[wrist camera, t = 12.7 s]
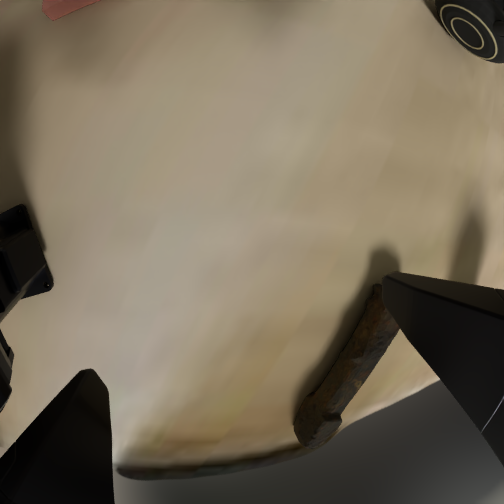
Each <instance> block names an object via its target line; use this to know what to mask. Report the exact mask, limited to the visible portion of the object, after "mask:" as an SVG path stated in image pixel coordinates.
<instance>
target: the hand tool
mask: <svg viewBox="0 0 504 504" xmlns="http://www.w3.org/2000/svg"><path fill="white" fill-rule="evenodd" d="M373 289H374V295H373V296H372V297H371V298H369V299H368V300H366V305H367V309H366V311H365V313H364V315H363V317H362V319H361V320H360V322H359V324H358V326H357V328H356V330H355V332H354V333H353V335H352V337H351V339H350V340H349V342H348V343H347V345H346V347H345V348H344V349H343V351H342V352H340V355H339V358H338V360H337V361H336V363H335V364H334V365H333V367H332V369H331V371H330V372H329V374H328V375H327V377H326V378H325V380H324V381H323V383H322V384H321V386H320V387H319V389H318V390H317V391H316V393H311V394H309V395H308V396H307V397H306V398H305V400H304V402H303V404H302V405H301V407H300V410H299V412H298V415H297V418H296V421H295V424H294V432H295V434H296V436H297V438H298V440H299V442H300V443H301V444H302V445H303V446H304V447H305V448H311V449H313V448H315V447H318V446H319V445H321V444H322V443H324V442H325V441H326V439H327V438H328V437H329V436H331V434H332V433H334V432H335V431H336V430H337V429H338V428H339V426H340V425H341V423H342V419H341V416H340V415H341V413H342V412H343V411H344V409H345V407H346V406H347V405H348V403H349V402H350V401H351V399H352V398H353V397H354V395H355V394H356V393H357V391H358V390H359V389H360V388H361V386H362V385H363V383H364V382H365V381H366V379H367V378H368V376H369V375H370V373H371V372H372V371H373V369H374V368H375V366H376V364H377V363H378V362H379V360H380V359H381V357H382V356H383V355H384V353H385V352H386V350H387V348H388V346H389V345H390V344H391V342H392V340H393V339H394V337H395V336H396V335H397V333H398V331H399V329H400V327H399V326H398V324H397V323H396V322H395V320H394V319H393V317H392V316H391V314H390V313H389V311H388V310H387V309H386V307H385V305H384V303H383V299H382V284H375V285H373Z"/></svg>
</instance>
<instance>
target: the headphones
mask: <svg viewBox="0 0 504 504" xmlns="http://www.w3.org/2000/svg"><path fill="white" fill-rule="evenodd" d="M435 4H436V8H437V11H438V14H439V16H440V19H441V21H442V23H443V25H444V26H445V28H446V30H447V31H448V32H449V34H450V35H451V36H452V37H453V38H454V39H455V41H456V42H457V43H459V44H460V45H461V46H462V47H463V48H464V49H466V50H467V51H468V52H470V53H471V54H473V55H475V56H477V57H479V58H481V59H484V60H486V61H490V62H494V63H504V0H435Z"/></svg>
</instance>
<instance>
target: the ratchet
mask: <svg viewBox="0 0 504 504" xmlns="http://www.w3.org/2000/svg"><path fill="white" fill-rule="evenodd" d="M98 1H100V0H43V5H42V12H43V13H45V14H46V15H47V16H48V17H49V18H50V19H51V20H53V21H54V20H56V19H58V18H60V17H62V16H64V15H66V14H69V13H71V12H73V11H75V10H78V9H80V8H82V7H85V6H87V5H90V4H92V3H95V2H98Z"/></svg>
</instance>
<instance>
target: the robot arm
mask: <svg viewBox="0 0 504 504" xmlns="http://www.w3.org/2000/svg"><path fill="white" fill-rule="evenodd" d="M19 209H21V211H22V214H20V213H19ZM45 282H47V283H48V284H49V286H48V285H46V283H45ZM53 286H54V283H53V280H52V278H51V275H50V273H49V271H48V268H47V266H46V261H45V259H44V256H43V254H42V251H41V248H40V245H39V243H38V240H37V237H36V234H35V231H34V230H33V228H32V224H31V221H30V218H29V215H28V212H27V208H26V206H25V205H23V204H19V205H17V206H15V207H13V208H11V209H9V210H7V211H5V212H3V213H1V214H0V323H1V322H2V320H3V319H4V318H5V317H6V315H7V314H8V313H9V312H10V311H11V309H12V308H13V307H14V306H15V305H16V304H17V302H18V301H19V300H20V299H24V298H27V297H30V296H34V295H37V294H41V293H44V292H48V291H50V290H51V289H52V288H53ZM382 299H383V303H384V305H385V307H386V309H387V310H388V311H389V313H390V314H391V316H392V317H393V319H394V320H395V322H396V323H397V324H398V326H399V327H400V329H401V330H402V332H403V333H404V335H405V336H406V338H407V339H408V340H409V342H410V343H411V344H412V345H413V347H414V348H415V349H416V350H417V351H418V353H419V354H420V355H421V356H422V357H423V359H424V360H425V361H426V362H427V363H428V365H429V366H430V367H431V368H432V370H433V371H434V372H435V373H436V375H437V376H438V377H439V378H440V380H441V381H442V382H443V383H444V385H445V386H446V387H447V388H448V390H449V391H450V392H451V394H452V395H453V396H454V398H455V399H456V400H457V401H458V403H459V404H460V405H461V407H462V408H463V409H464V411H465V412H466V413H467V415H468V416H469V417H470V419H471V420H472V421H473V423H474V424H475V426H476V427H477V428H478V430H479V431H480V432H482V433H481V434H482V436H483V437H484V438H485V440H486V441H487V443H488V444H489V446H490V447H491V448H492V450H493V451H494V453H495V454H496V456H497V457H498V459H499V460H500V462H501V463H502V465H503V467H504V290H502V289H494V288H490V287H484V286H479V285H473V284H467V283H461V282H455V281H449V280H443V279H437V278H431V277H425V276H419V275H413V274H407V273H401V272H392V273H389V274H387V275H385V276H384V277H383V280H382ZM13 359H14V353H13V351H12V349H11V347H9V346H8V344H7V342H6V340H5V338H4V336H3V334H2V332H1V330H0V413H1V411H2V410H3V408H4V406H5V404H6V403H7V401H8V399H9V397H10V395H11V392H12V388H11V386H10V385H9V384H10V380H11V375H12V364H13ZM0 504H115V502H114V490H113V469H112V430H111V419H110V405H109V392H108V389H107V387H106V385H105V384H104V383H103V381H102V380H101V379H100V377H99V376H98V375H97V373H96V372H95V371H94V370H93V369H91V368H90V369H85V370H81V371H79V372H78V373H77V374H76V376H75V377H74V378H73V379H72V380H71V381H70V382H69V383H68V384H67V385H66V386H65V387H64V388H63V389H62V390H61V391H60V392H59V393H58V395H57V396H56V397H55V398H54V399H53V400H52V401H51V402H50V403H49V404H48V405H47V406H46V408H45V409H44V410H43V411H42V412H41V413H40V414H39V415H38V416H37V417H36V418H35V420H34V421H33V422H32V423H31V424H30V425H29V426H28V427H27V429H26V430H25V431H24V432H23V433H22V434H21V435H20V436H19V438H18V439H17V440H16V442H14V443H13V444H12V446H11V447H10V448H9V449H8V450H7V451H6V452H5V453H4V455H3V456H2V457H1V458H0Z"/></svg>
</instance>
